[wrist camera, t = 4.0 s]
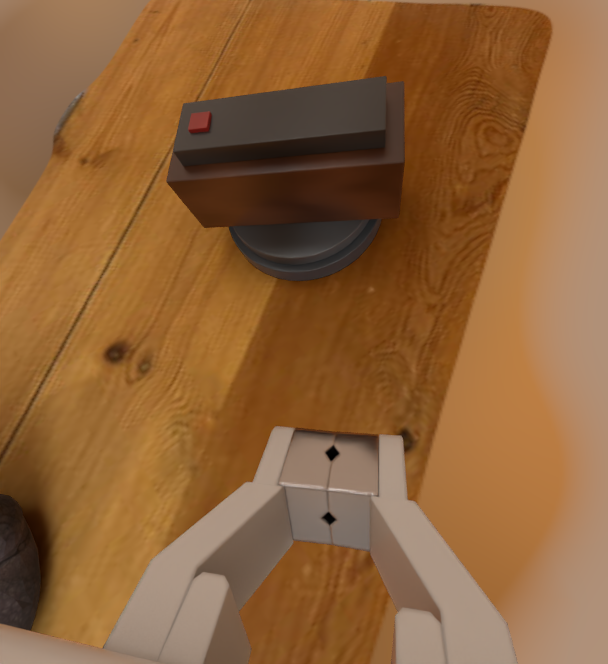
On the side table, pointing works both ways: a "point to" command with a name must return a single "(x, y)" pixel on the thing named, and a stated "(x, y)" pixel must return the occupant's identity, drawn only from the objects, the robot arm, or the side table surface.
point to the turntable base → (314, 268)
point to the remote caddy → (293, 165)
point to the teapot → (17, 567)
